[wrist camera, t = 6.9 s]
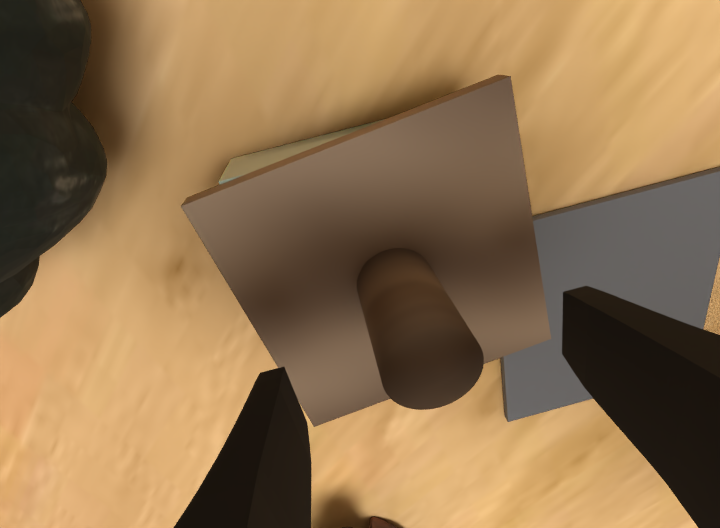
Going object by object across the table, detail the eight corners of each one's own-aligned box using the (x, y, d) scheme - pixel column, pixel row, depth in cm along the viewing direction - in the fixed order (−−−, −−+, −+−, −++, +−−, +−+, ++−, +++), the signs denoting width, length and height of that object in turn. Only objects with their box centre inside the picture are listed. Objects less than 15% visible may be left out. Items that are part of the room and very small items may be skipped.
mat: (688, 365, 24) (694, 370, 24) (504, 416, 24) (508, 421, 23) (731, 163, 18) (739, 165, 18) (490, 227, 18) (494, 231, 18)
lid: (540, 326, 17) (631, 428, 13) (313, 411, 17) (320, 541, 13) (498, 74, 12) (619, 89, 8) (187, 197, 13) (127, 281, 8)
